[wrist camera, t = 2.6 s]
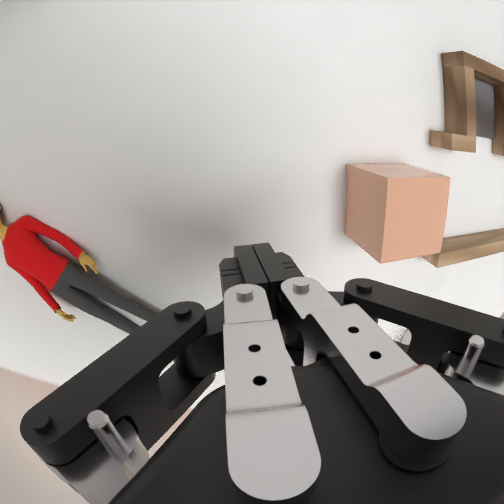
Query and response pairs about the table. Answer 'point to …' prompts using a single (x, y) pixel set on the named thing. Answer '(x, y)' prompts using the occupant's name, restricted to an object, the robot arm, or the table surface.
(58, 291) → the person figure
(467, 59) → the brown frame
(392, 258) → the clay block
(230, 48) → the table surface
